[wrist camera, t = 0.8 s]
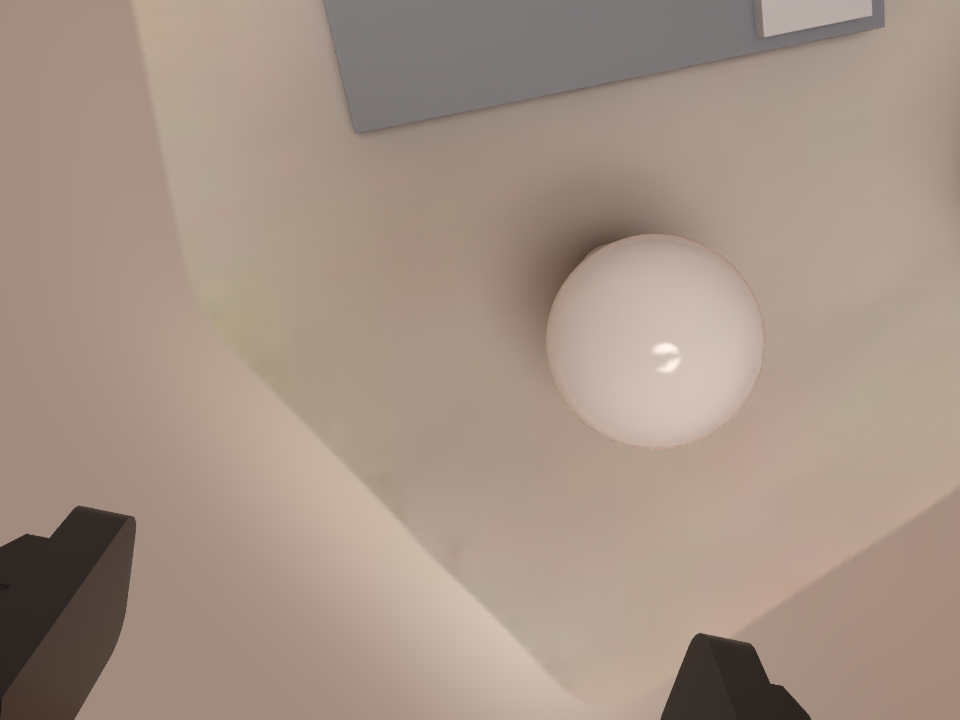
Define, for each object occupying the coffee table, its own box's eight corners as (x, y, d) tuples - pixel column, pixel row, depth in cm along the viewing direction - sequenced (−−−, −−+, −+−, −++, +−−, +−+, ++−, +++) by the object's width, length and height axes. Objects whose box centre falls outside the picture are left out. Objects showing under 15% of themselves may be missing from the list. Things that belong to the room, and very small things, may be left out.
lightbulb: (727, 255, 34) (848, 354, 24) (620, 382, 36) (690, 527, 25) (595, 154, 32) (664, 214, 22) (491, 292, 34) (510, 407, 24)
